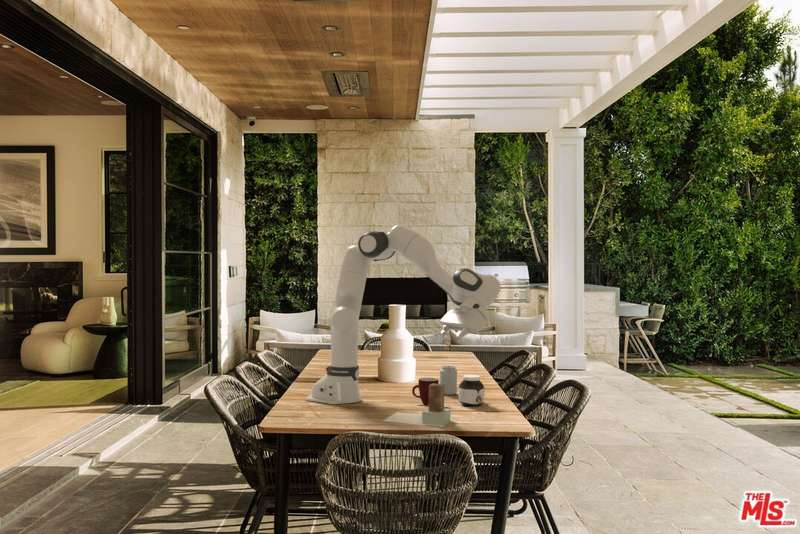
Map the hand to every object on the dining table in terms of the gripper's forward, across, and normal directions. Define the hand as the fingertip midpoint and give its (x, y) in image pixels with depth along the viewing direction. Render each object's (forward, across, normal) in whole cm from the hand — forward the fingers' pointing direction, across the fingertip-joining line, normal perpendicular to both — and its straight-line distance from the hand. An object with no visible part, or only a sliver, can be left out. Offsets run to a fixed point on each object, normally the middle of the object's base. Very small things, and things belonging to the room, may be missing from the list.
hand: (449, 336), depth 252 cm
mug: (+16, -22, +26) cm, 38 cm away
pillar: (+25, +8, +10) cm, 28 cm away
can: (+2, -34, +40) cm, 53 cm away
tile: (+31, +2, +12) cm, 33 cm away
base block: (+28, +8, +13) cm, 32 cm away
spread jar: (+4, -14, +37) cm, 40 cm away
